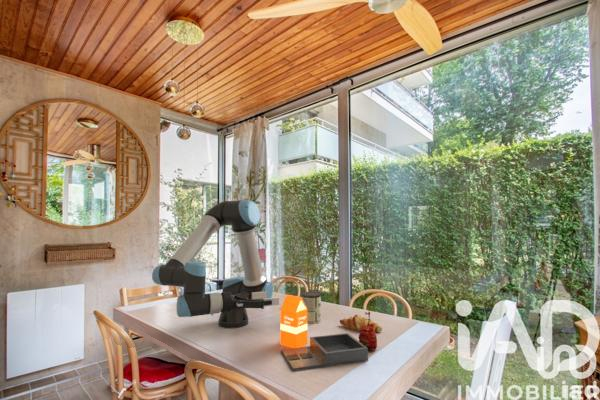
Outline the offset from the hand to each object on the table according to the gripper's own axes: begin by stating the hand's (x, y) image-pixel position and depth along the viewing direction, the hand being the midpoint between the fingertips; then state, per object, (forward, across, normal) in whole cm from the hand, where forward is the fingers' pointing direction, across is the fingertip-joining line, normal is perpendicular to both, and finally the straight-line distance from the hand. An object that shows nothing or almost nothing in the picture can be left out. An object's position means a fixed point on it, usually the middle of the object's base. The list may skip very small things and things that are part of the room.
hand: (272, 297), depth 127 cm
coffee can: (+33, -26, -20) cm, 47 cm away
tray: (+15, +15, -20) cm, 30 cm away
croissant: (+48, -3, -20) cm, 52 cm away
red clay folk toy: (+36, +17, -20) cm, 45 cm away
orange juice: (+10, -1, -20) cm, 23 cm away
